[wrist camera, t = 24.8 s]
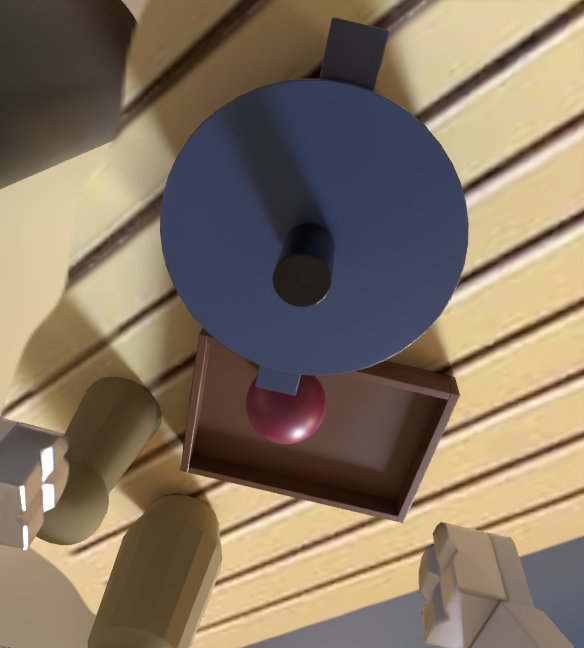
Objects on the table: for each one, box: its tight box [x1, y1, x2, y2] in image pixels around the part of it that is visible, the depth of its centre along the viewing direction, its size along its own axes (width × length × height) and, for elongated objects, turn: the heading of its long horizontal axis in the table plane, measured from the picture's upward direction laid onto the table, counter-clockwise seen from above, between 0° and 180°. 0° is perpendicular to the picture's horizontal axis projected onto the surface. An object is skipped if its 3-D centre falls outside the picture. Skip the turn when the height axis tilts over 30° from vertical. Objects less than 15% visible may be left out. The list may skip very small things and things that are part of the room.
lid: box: [160, 79, 469, 375], centre depth 24 cm, size 14×14×5 cm
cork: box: [36, 377, 161, 545], centre depth 36 cm, size 6×6×11 cm
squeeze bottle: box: [88, 494, 222, 648], centre depth 38 cm, size 8×8×18 cm
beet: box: [246, 374, 326, 444], centre depth 35 cm, size 5×5×6 cm
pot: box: [255, 18, 389, 396], centre depth 29 cm, size 13×19×7 cm
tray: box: [180, 328, 460, 523], centre depth 38 cm, size 17×12×2 cm
